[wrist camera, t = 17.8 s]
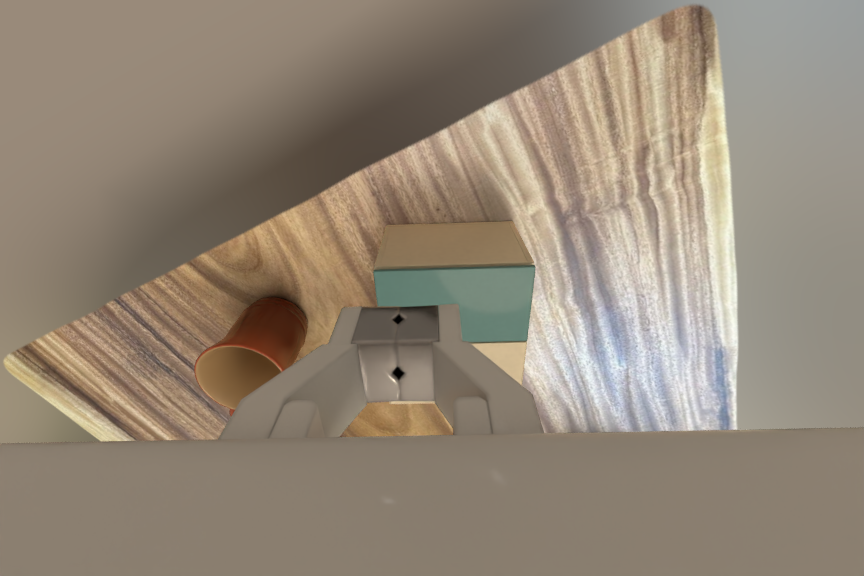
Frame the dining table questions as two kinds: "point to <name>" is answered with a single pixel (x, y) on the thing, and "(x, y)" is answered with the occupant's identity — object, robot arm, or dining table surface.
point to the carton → (460, 249)
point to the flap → (466, 296)
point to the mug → (252, 351)
